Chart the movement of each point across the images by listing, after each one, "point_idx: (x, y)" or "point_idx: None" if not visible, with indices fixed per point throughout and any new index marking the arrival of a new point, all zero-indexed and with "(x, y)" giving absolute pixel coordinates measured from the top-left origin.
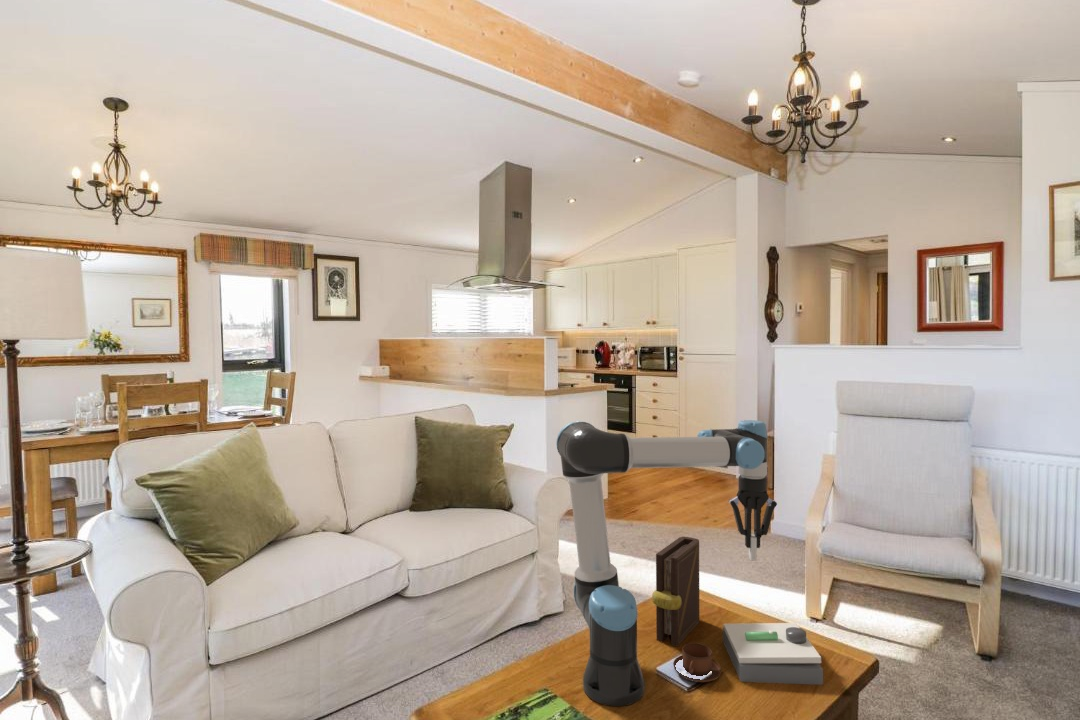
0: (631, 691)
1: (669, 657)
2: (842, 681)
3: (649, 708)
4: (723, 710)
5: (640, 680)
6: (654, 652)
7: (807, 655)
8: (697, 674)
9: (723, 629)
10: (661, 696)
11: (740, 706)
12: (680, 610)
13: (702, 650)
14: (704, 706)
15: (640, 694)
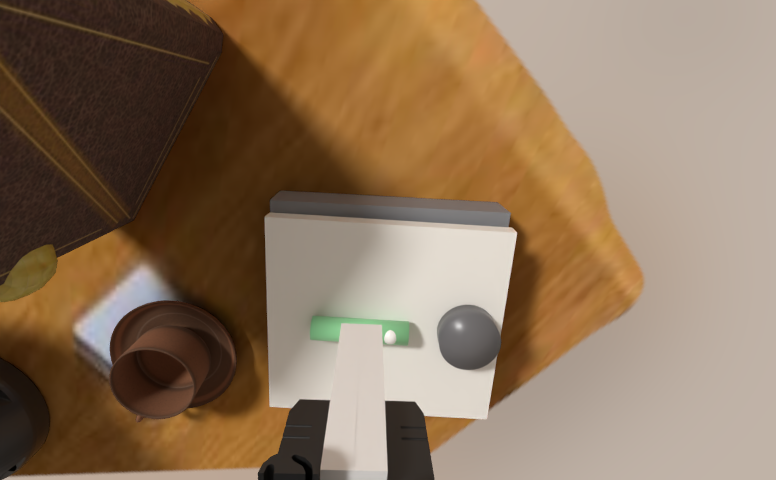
0: (5, 473)
1: (109, 281)
2: (523, 370)
3: (67, 466)
4: (223, 466)
5: (14, 461)
6: (64, 256)
7: (455, 409)
8: (172, 384)
9: (270, 208)
10: (91, 431)
11: (261, 454)
12: (76, 228)
13: (179, 347)
14: (185, 457)
15: (36, 450)
